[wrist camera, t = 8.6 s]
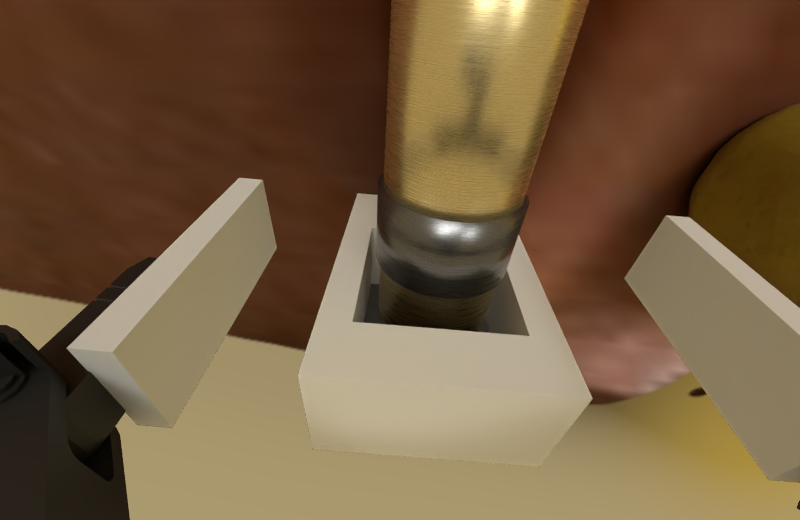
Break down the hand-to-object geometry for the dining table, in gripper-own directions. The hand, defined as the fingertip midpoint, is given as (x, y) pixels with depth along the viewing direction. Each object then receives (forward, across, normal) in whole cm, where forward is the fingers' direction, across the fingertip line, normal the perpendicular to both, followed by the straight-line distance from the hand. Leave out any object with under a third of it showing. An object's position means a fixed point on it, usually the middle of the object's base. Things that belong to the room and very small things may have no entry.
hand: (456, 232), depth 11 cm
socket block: (+8, 0, -6) cm, 10 cm away
